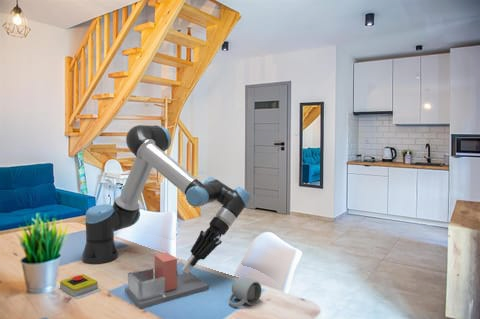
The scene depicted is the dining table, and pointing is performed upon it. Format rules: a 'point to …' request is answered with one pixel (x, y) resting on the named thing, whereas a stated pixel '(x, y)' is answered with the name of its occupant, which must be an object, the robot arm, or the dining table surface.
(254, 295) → the ceramic mug
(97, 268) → the dining table surface
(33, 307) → the dining table surface
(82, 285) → the emergency button
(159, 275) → the pink box with dome
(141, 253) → the dining table surface
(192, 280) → the stand board
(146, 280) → the grey box holder bracket
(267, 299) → the dining table surface
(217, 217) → the robot arm
